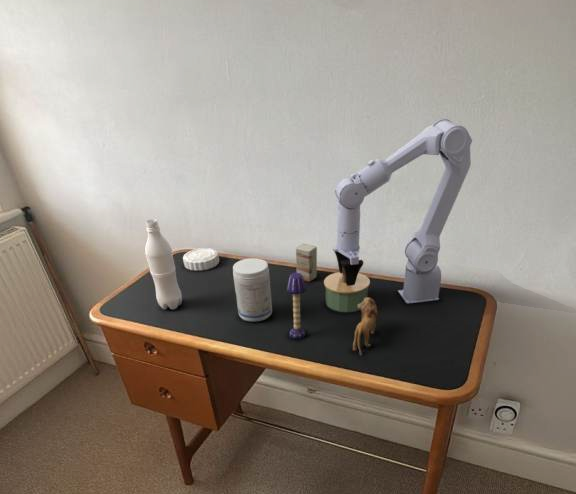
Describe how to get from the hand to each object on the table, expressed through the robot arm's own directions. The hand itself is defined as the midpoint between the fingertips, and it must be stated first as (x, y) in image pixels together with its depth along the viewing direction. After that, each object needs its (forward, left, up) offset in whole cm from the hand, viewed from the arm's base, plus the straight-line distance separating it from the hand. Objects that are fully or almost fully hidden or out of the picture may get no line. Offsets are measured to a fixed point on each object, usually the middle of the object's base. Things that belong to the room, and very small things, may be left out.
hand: (347, 278), depth 127 cm
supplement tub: (+26, 0, -8) cm, 27 cm away
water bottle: (+50, -11, -8) cm, 52 cm away
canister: (0, 0, -8) cm, 8 cm away
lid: (0, 0, -1) cm, 1 cm away
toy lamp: (+16, +13, -8) cm, 22 cm away
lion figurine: (0, +19, -8) cm, 21 cm away
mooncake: (+41, -39, -8) cm, 57 cm away
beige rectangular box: (+8, -19, -8) cm, 22 cm away
